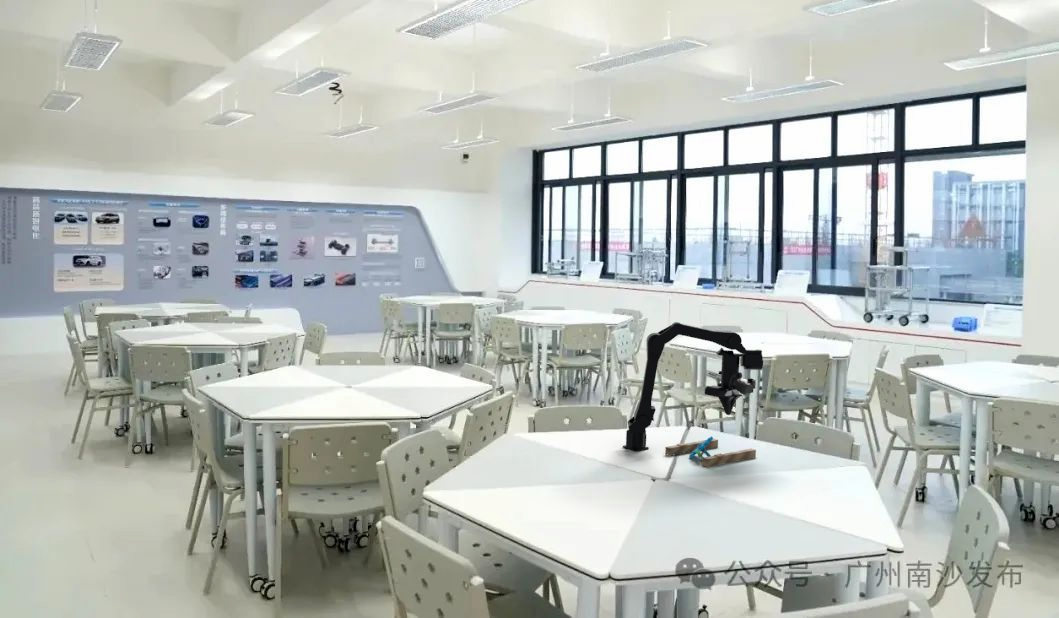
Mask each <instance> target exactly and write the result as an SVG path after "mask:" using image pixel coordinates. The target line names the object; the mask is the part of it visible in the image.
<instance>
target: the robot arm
mask: <svg viewBox="0 0 1059 618" xmlns="http://www.w3.org/2000/svg"><path fill="white" fill-rule="evenodd" d="M677 336H684V337H688V338H693V339H698V340H702V341H707V342H711V343H713V344H716V345H719V346H721V348H720V349H718V350H717V351H716V353H715V354H716V355H717V356H719V357H720V356H721V370H718V375H720V382H719V383H717V385H707V386H706V387H705V388H704V395H706V396H712V397H716V398H718V399H719V401H720V404H721V406H722V408H723V411H724V413H725V415H727V416H730V415H731V413H732V412H733V408H734V406H735V403H736V401H737V400H738V399H739V398H741V397H742V396H743V395H746V394H753V393H754V390H755V389H756V385H757V383H756V379H755V378H753V377H750V378H748V379H747V378H743V374H742V372H740V366H741V367H743V369H744V370H747V371H748V370H749V371H750V370H751V371H763V367H764V359H763V350H761V349H746V347H744V345H743V343H742V337H741V335H740V334H738V333H737V332H735V331H732V330H712V329H707V328H702V327H700V326H699V327H698V326H694V325H689V324H684V323H680V322H678V321H676V322H673V323H671V324H670V325H669V326H667V327H665V328H663V329H661V330H660V331H658V332H651V333H650V334H649V335H648V336H647V338H646V362H645V369H644V374H643V375H644V376H643V379H642V380H643V381H642V387H641V392H640V398H639V401H638V402H637V405H636V407H635V410H634V413H633V416H632V417H630V419H629V420H627V426H628V429H627V430H626V435H625V445H622V448H624V449H627V450H630V451H634V452H637V451H638V452H639V451H644V450H649V447H648V446H646V445H647V428H649V427H650V426H651V425H652V421H655V417H654V416H655V412H656V407H655V405H652V399H653V393H654V389H655V388H654V387H655V383H656V382H655V380H656V376H657V371H658V369H657V368H658V364H659V360H660V358H661V356H662V353H663V351H664V348H665V345H666V344H668V343H669V342H671V341H672V340H674V339H675V338H676V337H677ZM722 347H723V348H722ZM724 348H726V349H728V350H725V349H724ZM734 350H735V351H736V352H738V353H736V352H735V353H734Z"/></svg>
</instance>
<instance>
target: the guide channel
mask: <svg viewBox="0 0 1059 618" xmlns="http://www.w3.org/2000/svg"><path fill="white" fill-rule="evenodd" d="M705 440H706V439H705ZM705 440H704V439H703V440H699V441H698V440H697V441H692V442H687V443H684V442H681V443H677V444H676V445H670V446H665V455H666V454H668V455H667V456H669V455H671V456H674V455H673V454H677V455H681V454H680V453H682V454H687V453H692V451H694V450H695V449H697V448H698V445H699V444H702V443H703V442H704V441H705ZM714 447H715V448H719V439H716V438H713V440H712V441H710V443H709V444H708V445H706V446H705V448H706V449H707V450H709V449H714ZM708 448H709V449H708ZM686 452H687V453H686ZM756 456H757V449H755V448H746V449H742V450H741V449H740V450H737V451H731V452H726V453H715V454H713V455H711V456H709V457H708V456H706V457H704V456H703V457H704V458H703V459H702V461H701V462H702V464H701V465H703V467H705V466H706V467H705V468H708V466H710V467H714V465H715V466H718V464H720V465H723V463H725V464H729V462H730V463H734V462H737V461H738V460H739V461H743V459H744V460H749V459H754V458H756ZM753 457H754V458H753ZM748 458H749V459H748ZM733 461H734V462H733ZM739 461H738V462H739Z"/></svg>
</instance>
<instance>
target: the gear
mask: <svg viewBox="0 0 1059 618" xmlns="http://www.w3.org/2000/svg"><path fill="white" fill-rule="evenodd" d="M713 439H714V437H713V435H711V436H710V437H708V438H707V439H705V441H704V442H703V443H702V444H699V445H698V448H697V449H695V450H694V451H693V452H690V454H689V458H690V459H691V458H694V457H695V456H696V455H697V457H698V458H701V460H703V458H704V454H705V455H706V457H709V456H712V455H711V454H710V452H708V451H707V450H708V449H706V448H705V446H706V445H708V444H709V443H710V441H712V440H713Z"/></svg>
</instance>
